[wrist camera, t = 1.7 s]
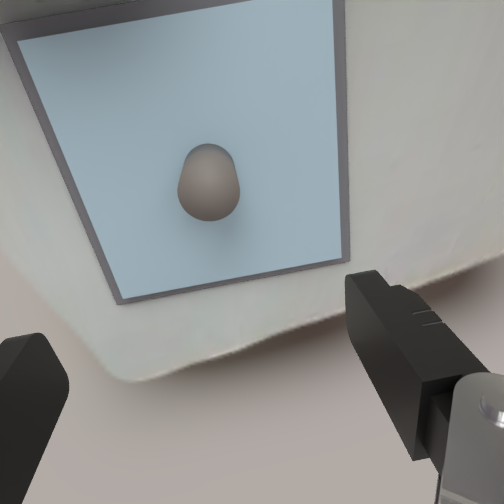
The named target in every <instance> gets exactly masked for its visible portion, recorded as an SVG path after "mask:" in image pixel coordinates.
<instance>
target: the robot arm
mask: <svg viewBox="0 0 504 504" xmlns="http://www.w3.org/2000/svg"><path fill="white" fill-rule="evenodd" d="M345 305H346V325H347V330H348V334H349V337H350V340H351V343H352V345H353V347H354V349H355V350H356V352H357V354H358V356H359V358H360V360H361V362H362V364H363V366H364V368H365V370H366V372H367V374H368V376H369V378H370V379H371V381H372V383H373V385H374V387H375V389H376V391H377V393H378V395H379V397H380V399H381V401H382V403H383V405H384V406H385V408H386V410H387V412H388V414H389V416H390V418H391V420H392V422H393V424H394V426H395V428H396V430H397V432H398V433H399V435H400V437H401V439H402V441H403V443H404V445H405V447H406V449H407V451H408V453H409V455H410V457H411V459H412V461H416V460H421V459H425V458H430V459H431V461H432V462H433V464H434V466H435V468H436V469H437V471H438V473H439V474H438V480H437V487H436V494H435V502H434V504H504V375H500V374H495V373H491V372H490V371H488V370H487V368H486V367H485V366H484V365H483V364H482V363H481V362H480V361H479V360H478V359H477V358H476V357H475V356H474V354H472V352H471V351H470V350H469V349H468V348H467V347H466V346H465V345H464V344H463V343H462V341H460V339H459V338H458V337H457V336H456V335H455V334H454V333H453V332H452V331H451V329H450V328H449V327H448V326H447V325H446V324H445V323H442V320H441V319H440V318H439V317H438V315H437V314H436V313H435V312H434V311H431V308H430V307H429V306H428V305H427V304H426V302H424V300H423V299H422V298H421V297H420V296H419V295H418V294H416V293H414V292H413V291H411V290H409V289H407V288H405V287H403V286H401V285H395V286H389V284H388V283H387V282H386V281H385V280H384V278H383V277H382V276H381V275H380V274H379V272H378V271H376V270H371V271H365V272H360V273H355V274H349V275H346V277H345ZM68 393H69V380H68V376H67V373H66V371H65V370H64V368H63V366H62V364H61V363H60V361H59V359H58V357H57V356H56V354H55V352H54V351H53V349H52V347H51V345H50V343H49V342H48V340H47V339H46V337H45V336H44V335H43V334H41V333H33V334H28V335H22V336H18V337H12V338H7V339H5V340H4V341H3V342H2V343H1V344H0V504H22V502H23V500H24V497H25V495H26V493H27V490H28V488H29V486H30V483H31V481H32V479H33V476H34V474H35V472H36V469H37V467H38V465H39V462H40V460H41V458H42V455H43V453H44V451H45V448H46V446H47V444H48V442H49V439H50V437H51V435H52V432H53V430H54V428H55V425H56V423H57V421H58V418H59V416H60V414H61V411H62V409H63V407H64V404H65V402H66V400H67V397H68Z"/></svg>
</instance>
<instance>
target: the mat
mask: <svg viewBox="0 0 504 504" xmlns="http://www.w3.org/2000/svg"><path fill="white" fill-rule="evenodd" d="M246 1H251V0H139V1H133V2H127V3H122V4H116V5H110V6H104V7H99V8H93V9H87V10H81V11H76V12H70V13H64V14H58V15H53V16H47V17H41V18H35V19H29V20H24V21H18V22H12V23H6V24H1V25H0V31H1V33H2V36H3V38H4V40H5V43H6V45H7V47H8V50H9V52H10V54H11V57H12V59H13V61H14V64H15V66H16V69H17V71H18V73H19V76H20V78H21V80H22V83H23V85H24V87H25V90H26V92H27V94H28V97H29V99H30V101H31V104H32V106H33V108H34V111H35V113H36V115H37V118H38V120H39V123H40V125H41V127H42V130H43V132H44V134H45V137H46V139H47V141H48V144H49V146H50V148H51V151H52V153H53V155H54V158H55V160H56V162H57V165H58V167H59V169H60V172H61V174H62V177H63V179H64V181H65V184H66V186H67V188H68V191H69V193H70V195H71V198H72V200H73V202H74V205H75V207H76V209H77V212H78V214H79V216H80V219H81V221H82V223H83V226H84V228H85V231H86V233H87V235H88V238H89V240H90V242H91V245H92V247H93V249H94V252H95V254H96V256H97V259H98V261H99V263H100V266H101V268H102V270H103V273H104V275H105V277H106V280H107V282H108V285H109V287H110V289H111V292H112V294H113V296H114V299H115V301H116V303H117V305H121V304H126V303H132V302H137V301H142V300H147V299H153V298H158V297H163V296H169V295H174V294H179V293H185V292H190V291H195V290H200V289H206V288H211V287H216V286H222V285H227V284H232V283H237V282H243V281H248V280H253V279H259V278H264V277H269V276H274V275H280V274H285V273H290V272H296V271H301V270H306V269H312V268H317V267H322V266H327V265H333V264H338V263H343V262H349V261H350V222H349V178H348V133H347V89H346V45H345V0H332V8H333V36H334V63H335V91H336V118H337V145H338V173H339V200H340V228H341V255H342V258H338V259H332V260H327V261H322V262H316V263H311V264H306V265H301V266H295V267H290V268H285V269H279V270H274V271H269V272H263V273H258V274H253V275H248V276H242V277H237V278H232V279H226V280H221V281H216V282H210V283H205V284H200V285H195V286H189V287H184V288H179V289H173V290H168V291H163V292H157V293H152V294H147V295H142V296H136V297H131V298H126V299H123V298H122V295H121V293H120V290H119V288H118V285H117V283H116V281H115V278H114V276H113V273H112V271H111V268H110V266H109V264H108V261H107V259H106V256H105V254H104V251H103V249H102V247H101V244H100V242H99V239H98V237H97V234H96V232H95V230H94V227H93V225H92V222H91V220H90V217H89V215H88V213H87V210H86V208H85V205H84V203H83V200H82V198H81V196H80V193H79V191H78V188H77V186H76V183H75V181H74V179H73V176H72V174H71V171H70V169H69V166H68V164H67V162H66V159H65V157H64V154H63V152H62V149H61V147H60V145H59V142H58V140H57V137H56V135H55V132H54V130H53V128H52V125H51V123H50V120H49V118H48V115H47V113H46V111H45V108H44V106H43V103H42V101H41V98H40V96H39V94H38V91H37V89H36V86H35V84H34V81H33V79H32V77H31V74H30V72H29V69H28V67H27V64H26V62H25V60H24V57H23V55H22V52H21V50H20V47H19V45H18V43H17V41H22V40H28V39H33V38H39V37H45V36H51V35H56V34H62V33H68V32H74V31H79V30H85V29H91V28H97V27H102V26H108V25H114V24H119V23H125V22H131V21H137V20H142V19H148V18H154V17H160V16H165V15H171V14H177V13H183V12H188V11H194V10H200V9H205V8H211V7H217V6H223V5H228V4H234V3H240V2H246Z"/></svg>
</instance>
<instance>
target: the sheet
mask: <svg viewBox="0 0 504 504" xmlns="http://www.w3.org/2000/svg"><path fill="white" fill-rule="evenodd" d="M17 43H18V45H19V47H20V50H21V52H22V55H23V57H24V60H25V62H26V64H27V67H28V69H29V72H30V74H31V77H32V79H33V81H34V84H35V86H36V89H37V91H38V94H39V96H40V98H41V101H42V103H43V106H44V108H45V111H46V113H47V115H48V118H49V120H50V123H51V125H52V128H53V130H54V132H55V135H56V137H57V140H58V142H59V145H60V147H61V149H62V152H63V154H64V157H65V159H66V162H67V164H68V166H69V169H70V171H71V174H72V176H73V179H74V181H75V183H76V186H77V188H78V191H79V193H80V196H81V198H82V200H83V203H84V205H85V208H86V210H87V213H88V215H89V217H90V220H91V222H92V225H93V227H94V230H95V232H96V234H97V237H98V239H99V242H100V244H101V247H102V249H103V251H104V254H105V256H106V259H107V261H108V264H109V266H110V268H111V271H112V273H113V276H114V278H115V281H116V283H117V285H118V288H119V290H120V293H121V295H122V298H123V299H126V298H131V297H136V296H142V295H147V294H152V293H157V292H163V291H168V290H173V289H179V288H184V287H189V286H195V285H200V284H205V283H210V282H216V281H221V280H226V279H232V278H237V277H242V276H248V275H253V274H258V273H263V272H269V271H274V270H279V269H285V268H290V267H295V266H301V265H306V264H311V263H316V262H322V261H327V260H332V259H338V258H342V255H341V228H340V200H339V173H338V145H337V118H336V91H335V63H334V36H333V8H332V0H251V1H246V2H240V3H234V4H228V5H223V6H217V7H211V8H205V9H200V10H194V11H188V12H183V13H177V14H171V15H165V16H160V17H154V18H148V19H142V20H137V21H131V22H125V23H119V24H114V25H108V26H102V27H97V28H91V29H85V30H79V31H74V32H68V33H62V34H56V35H51V36H45V37H39V38H33V39H28V40H22V41H17Z"/></svg>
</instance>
